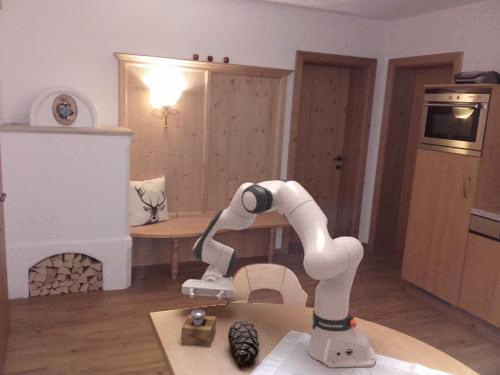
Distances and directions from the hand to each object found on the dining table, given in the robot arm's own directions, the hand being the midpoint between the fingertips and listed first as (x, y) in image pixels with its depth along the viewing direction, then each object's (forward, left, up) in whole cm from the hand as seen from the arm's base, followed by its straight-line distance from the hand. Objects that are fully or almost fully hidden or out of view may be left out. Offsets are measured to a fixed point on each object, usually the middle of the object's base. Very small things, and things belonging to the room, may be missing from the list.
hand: (204, 297), depth 166 cm
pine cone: (-18, +19, -11) cm, 28 cm away
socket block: (0, +10, -11) cm, 15 cm away
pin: (0, +11, -11) cm, 15 cm away
